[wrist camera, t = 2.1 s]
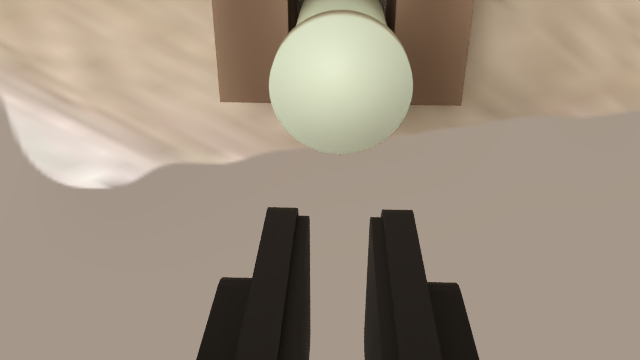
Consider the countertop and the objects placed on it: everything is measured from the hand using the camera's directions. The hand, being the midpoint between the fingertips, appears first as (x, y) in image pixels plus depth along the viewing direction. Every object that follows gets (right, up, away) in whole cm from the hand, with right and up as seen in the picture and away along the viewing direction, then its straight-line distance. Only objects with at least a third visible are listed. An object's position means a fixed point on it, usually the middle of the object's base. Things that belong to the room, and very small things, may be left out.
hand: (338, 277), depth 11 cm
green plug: (+1, +10, +18) cm, 21 cm away
